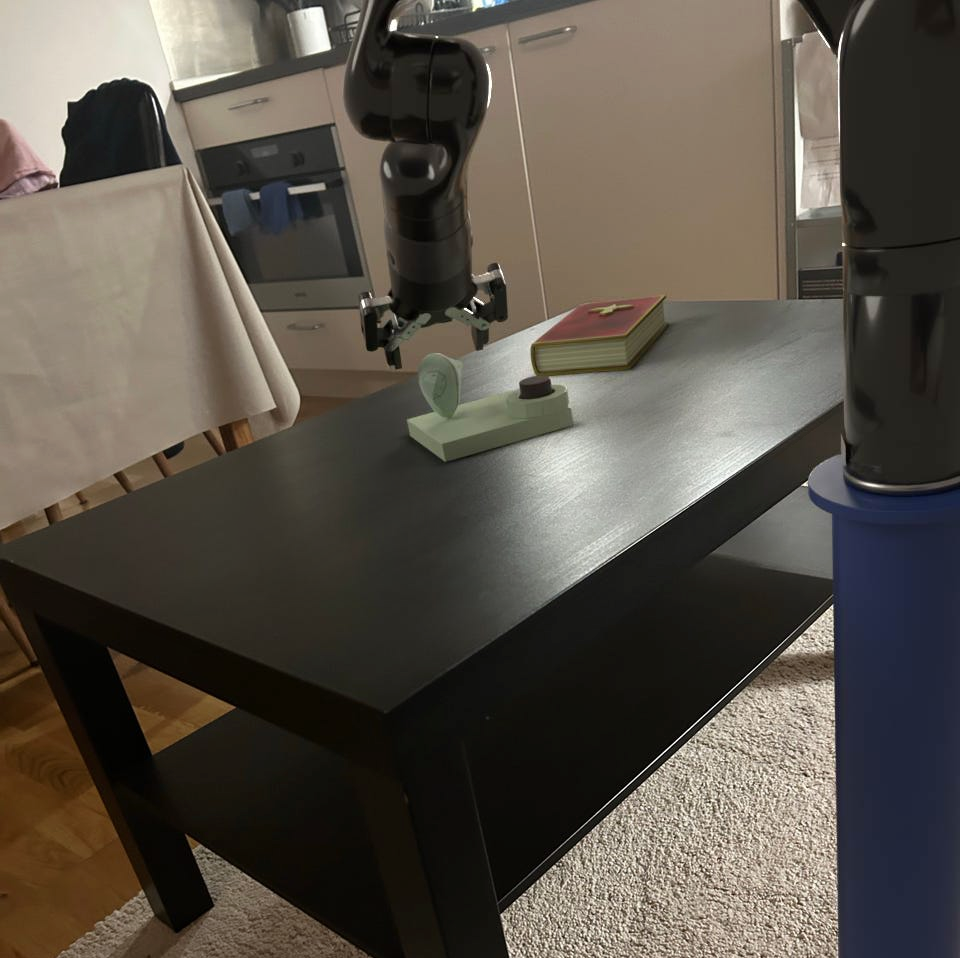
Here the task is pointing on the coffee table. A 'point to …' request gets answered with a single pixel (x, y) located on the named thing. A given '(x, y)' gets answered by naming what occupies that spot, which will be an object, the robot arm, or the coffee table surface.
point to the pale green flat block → (491, 423)
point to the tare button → (535, 387)
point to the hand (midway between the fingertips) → (436, 352)
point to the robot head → (441, 383)
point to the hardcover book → (600, 337)
